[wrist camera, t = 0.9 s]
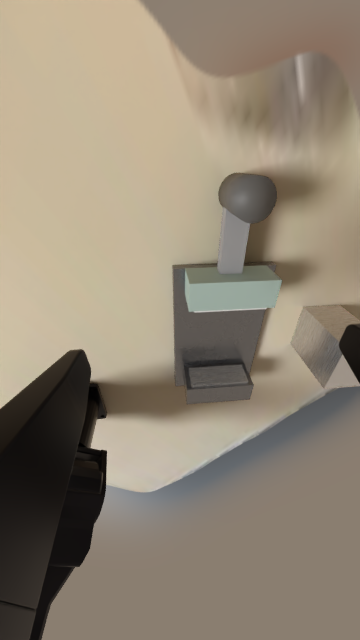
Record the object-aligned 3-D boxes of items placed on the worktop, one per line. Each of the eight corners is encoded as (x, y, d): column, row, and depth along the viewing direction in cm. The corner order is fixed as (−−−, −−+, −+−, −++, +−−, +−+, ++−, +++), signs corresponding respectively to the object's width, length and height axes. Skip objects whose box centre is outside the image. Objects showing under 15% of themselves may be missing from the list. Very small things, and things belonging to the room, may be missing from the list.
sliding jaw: (260, 293, 21) (279, 318, 18) (184, 296, 21) (190, 322, 17) (286, 172, 16) (322, 175, 12) (186, 172, 15) (194, 176, 12)
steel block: (322, 341, 27) (364, 385, 22) (290, 343, 27) (323, 388, 21) (339, 304, 24) (391, 345, 19) (303, 306, 24) (345, 348, 18)
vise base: (245, 375, 29) (257, 403, 26) (175, 380, 28) (177, 409, 25) (272, 261, 21) (294, 280, 17) (172, 265, 20) (175, 285, 17)
